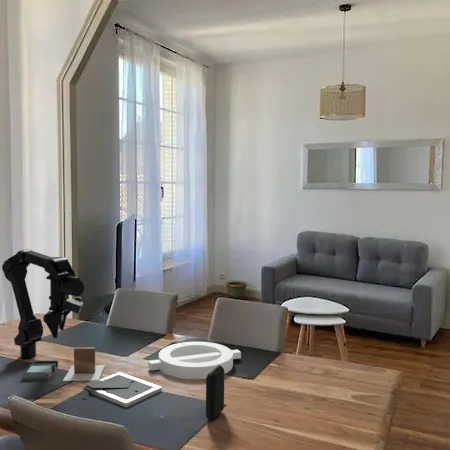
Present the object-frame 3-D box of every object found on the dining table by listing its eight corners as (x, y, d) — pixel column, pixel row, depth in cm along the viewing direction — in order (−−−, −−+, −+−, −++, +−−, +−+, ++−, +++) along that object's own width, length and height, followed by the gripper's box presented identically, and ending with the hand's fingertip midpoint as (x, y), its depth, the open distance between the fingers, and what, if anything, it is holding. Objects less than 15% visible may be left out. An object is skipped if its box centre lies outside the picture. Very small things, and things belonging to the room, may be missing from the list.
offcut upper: (31, 368, 184) (31, 365, 183) (51, 368, 184) (51, 365, 184) (26, 375, 178) (26, 372, 177) (47, 374, 178) (47, 371, 178)
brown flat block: (75, 371, 184) (75, 347, 183) (95, 371, 184) (95, 347, 183) (74, 373, 182) (73, 349, 181) (94, 373, 182) (94, 348, 181)
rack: (33, 367, 190) (33, 359, 189) (58, 367, 190) (58, 359, 190) (21, 383, 175) (21, 375, 175) (48, 383, 176) (48, 374, 176)
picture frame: (83, 392, 171) (126, 409, 158) (83, 383, 170) (126, 400, 158) (119, 377, 183) (161, 392, 171) (119, 370, 183) (161, 384, 170)
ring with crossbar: (144, 372, 187) (144, 359, 187) (180, 349, 213) (180, 338, 213) (214, 385, 177) (215, 371, 176) (243, 359, 202) (243, 347, 202)
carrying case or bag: (217, 407, 159) (218, 361, 158) (226, 409, 158) (227, 362, 157) (204, 422, 149) (204, 373, 148) (213, 424, 148) (214, 375, 147)
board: (72, 368, 190) (71, 365, 189) (105, 367, 190) (104, 365, 190) (62, 383, 176) (62, 380, 176) (98, 382, 177) (98, 380, 176)
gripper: (75, 298, 179) (75, 342, 180) (86, 286, 197) (86, 326, 199) (42, 298, 178) (43, 342, 179) (56, 286, 196) (56, 326, 198)
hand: (58, 334), depth 189 cm, fingers open, 9 cm apart
